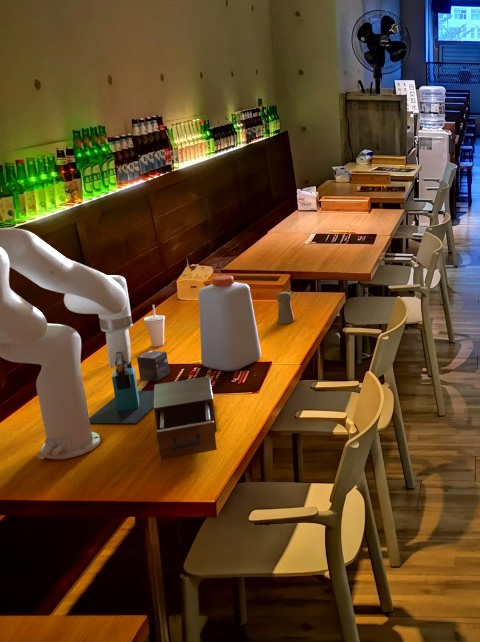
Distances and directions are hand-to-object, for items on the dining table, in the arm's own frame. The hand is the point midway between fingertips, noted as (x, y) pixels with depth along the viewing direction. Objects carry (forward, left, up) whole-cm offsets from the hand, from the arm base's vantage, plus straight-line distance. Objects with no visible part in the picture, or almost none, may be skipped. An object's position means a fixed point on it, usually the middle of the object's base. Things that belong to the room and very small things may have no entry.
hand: (125, 381), depth 197 cm
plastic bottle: (+33, -16, -8) cm, 37 cm away
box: (+21, +3, -8) cm, 23 cm away
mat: (0, 0, -8) cm, 8 cm away
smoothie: (+48, +15, -8) cm, 51 cm away
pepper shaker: (+73, -21, -8) cm, 76 cm away
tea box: (0, 0, -7) cm, 7 cm away
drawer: (-22, -26, -7) cm, 35 cm away
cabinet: (-9, -20, -8) cm, 23 cm away
